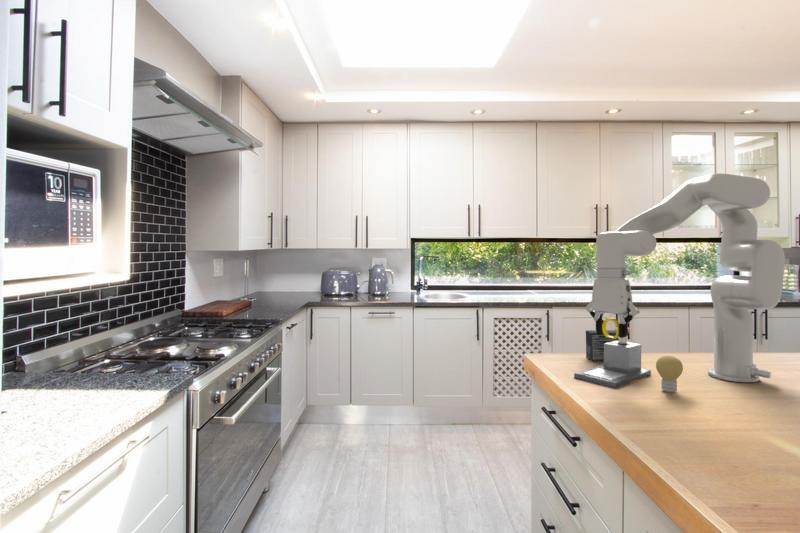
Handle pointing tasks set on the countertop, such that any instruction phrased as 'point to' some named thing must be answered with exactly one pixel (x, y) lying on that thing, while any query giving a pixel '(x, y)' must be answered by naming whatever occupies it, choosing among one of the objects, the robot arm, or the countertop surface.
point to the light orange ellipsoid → (622, 340)
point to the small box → (597, 344)
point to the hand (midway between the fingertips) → (611, 334)
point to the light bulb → (669, 372)
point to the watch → (606, 330)
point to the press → (616, 366)
